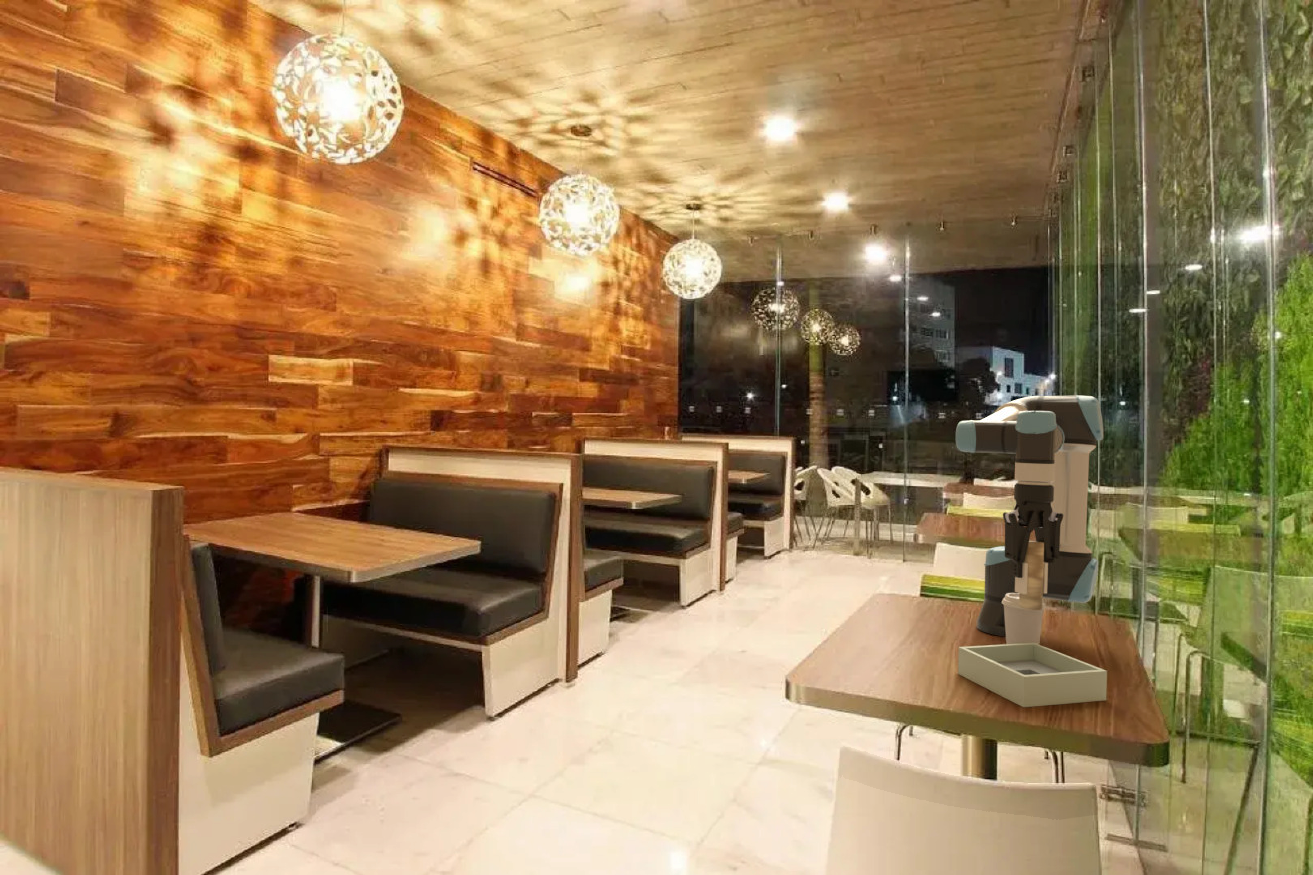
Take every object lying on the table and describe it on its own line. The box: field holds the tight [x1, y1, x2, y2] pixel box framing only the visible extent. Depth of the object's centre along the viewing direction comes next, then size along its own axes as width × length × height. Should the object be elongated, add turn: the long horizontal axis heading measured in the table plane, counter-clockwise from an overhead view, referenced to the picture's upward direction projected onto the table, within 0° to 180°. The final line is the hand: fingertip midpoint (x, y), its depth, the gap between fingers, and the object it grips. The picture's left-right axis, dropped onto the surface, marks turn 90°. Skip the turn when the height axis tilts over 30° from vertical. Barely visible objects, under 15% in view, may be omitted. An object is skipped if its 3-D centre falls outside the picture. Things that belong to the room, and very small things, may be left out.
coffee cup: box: [1002, 593, 1047, 645], centre depth 176 cm, size 10×10×15 cm
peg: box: [1019, 540, 1044, 610], centre depth 156 cm, size 4×4×14 cm
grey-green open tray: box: [957, 643, 1108, 708], centre depth 157 cm, size 20×20×6 cm
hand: (1030, 592), depth 156 cm, fingers closed on peg, 4 cm apart
